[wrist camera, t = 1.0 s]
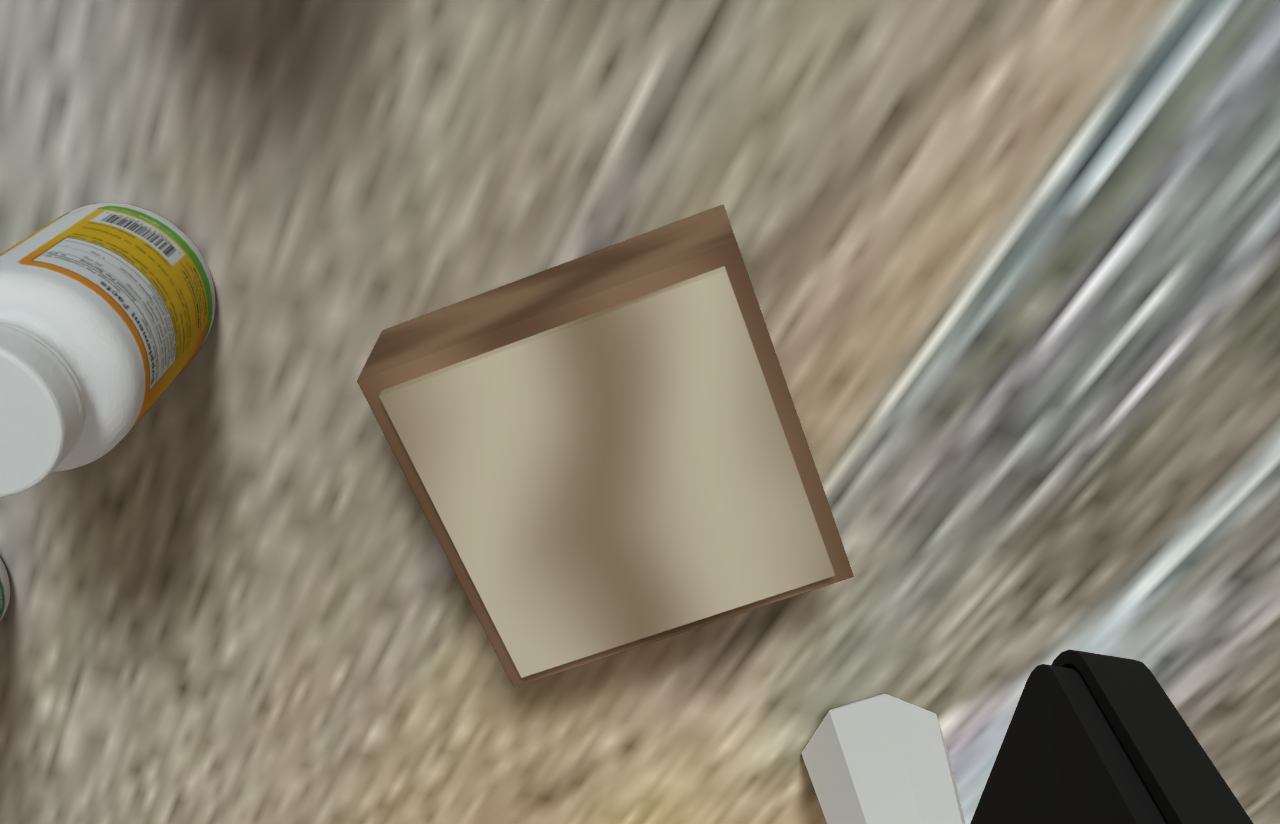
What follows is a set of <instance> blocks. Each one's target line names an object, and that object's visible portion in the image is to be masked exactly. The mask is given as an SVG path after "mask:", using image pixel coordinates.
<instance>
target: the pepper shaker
mask: <svg viewBox="0 0 1280 824" xmlns="http://www.w3.org/2000/svg"><path fill="white" fill-rule="evenodd" d="M801 754H802V757H803V760H804V762H805V765H806V768H807V770H808V773H809V776H810V779H811V781H812V784H813V787H814V789H815V792H816V795H817V798H818V800H819V803H820V806H821V808H822V811H823V814H824V817H825V819H826V822H827V824H965V820H964V816H963V812H962V807H961V803H960V799H959V795H958V790H957V786H956V782H955V778H954V773H953V769H952V765H951V761H950V757H949V754H948V750H947V747H946V744H945V741H944V738H943V734H942V731H941V728H940V725H939V721H938V718H937V715H936V714H935V713H933V712H930V711H928V710H925V709H923V708H920V707H918V706H915V705H913V704H910V703H908V702H905V701H903V700H900V699H897V698H895V697H892V696H890V695H887V694H881V695H878V696H874V697H871V698H868V699H864V700H861V701H857V702H854V703H851V704H847V705H844V706H841V707H837V708H834V709H830V710H829V712H828V713H827V715H826V716H825V718H824V719H823V721H822V722H821V724H820V725H819V727H818V728H817V730H816V731H815V733H814V734H813V736H812V738H811V739H810V741H809V742H808V744H807V745H806V747H805V748H804V750H803V751H802V753H801Z"/></svg>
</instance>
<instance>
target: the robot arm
mask: <svg viewBox="0 0 1280 824" xmlns="http://www.w3.org/2000/svg"><path fill="white" fill-rule="evenodd" d="M971 824H1253V823H1252V821H1251V820H1250V818H1249V817H1248V815H1247V814H1246V812H1245V811H1244V809H1243V808H1242V806H1241V805H1240V803H1239V802H1238V800H1237V799H1236V797H1235V796H1234V794H1233V793H1232V791H1231V790H1230V788H1229V787H1228V785H1227V784H1226V782H1225V781H1224V779H1223V778H1222V776H1221V775H1220V773H1219V772H1218V771H1217V769H1216V768H1215V766H1214V765H1213V763H1212V762H1211V760H1210V759H1209V757H1208V756H1207V754H1206V753H1205V751H1204V750H1203V748H1202V747H1201V745H1200V744H1199V742H1198V741H1197V739H1196V738H1195V736H1194V735H1193V733H1192V732H1191V730H1190V729H1189V727H1188V726H1187V724H1186V723H1185V721H1184V720H1183V719H1182V717H1181V716H1180V714H1179V713H1178V711H1177V710H1176V708H1175V707H1174V705H1173V704H1172V702H1171V701H1170V699H1169V698H1168V696H1167V695H1166V693H1165V692H1164V690H1163V689H1162V687H1161V686H1160V684H1159V683H1158V681H1157V680H1156V678H1155V677H1154V675H1153V674H1152V672H1151V671H1150V670H1149V669H1148V668H1147V667H1146V666H1145V665H1144V664H1143V663H1142V662H1139V661H1136V660H1132V659H1126V658H1119V657H1113V656H1107V655H1100V654H1094V653H1088V652H1081V651H1075V650H1067V651H1064V652H1062V653H1061V654H1060V655H1059V656H1058V657H1057V658H1056V659H1055V660H1054V661H1053V663H1052V665H1045V664H1042V665H1039V666H1037V667H1036V668H1035V669H1034V670H1033V671H1032V672H1031V674H1030V676H1029V678H1028V680H1027V682H1026V685H1025V687H1024V690H1023V692H1022V695H1021V697H1020V700H1019V702H1018V705H1017V707H1016V710H1015V713H1014V715H1013V718H1012V720H1011V723H1010V725H1009V728H1008V730H1007V733H1006V735H1005V738H1004V740H1003V743H1002V745H1001V748H1000V750H999V753H998V756H997V758H996V761H995V763H994V766H993V768H992V771H991V773H990V776H989V778H988V781H987V783H986V786H985V788H984V791H983V793H982V796H981V799H980V801H979V804H978V806H977V809H976V811H975V814H974V816H973V819H972V821H971Z"/></svg>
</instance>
